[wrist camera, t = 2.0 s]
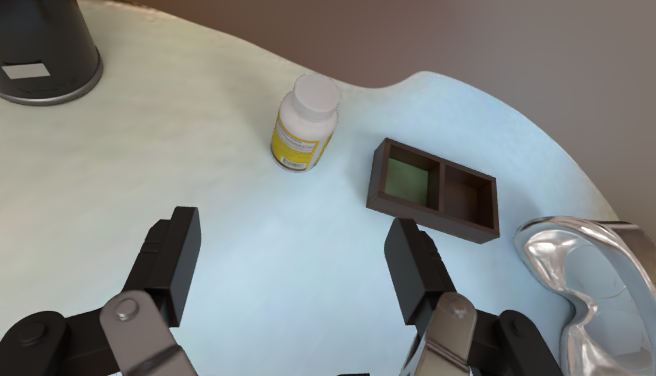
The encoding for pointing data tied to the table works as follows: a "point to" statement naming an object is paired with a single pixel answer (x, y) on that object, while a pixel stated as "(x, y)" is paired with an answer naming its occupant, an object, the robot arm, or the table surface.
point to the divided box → (433, 192)
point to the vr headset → (597, 291)
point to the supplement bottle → (305, 122)
